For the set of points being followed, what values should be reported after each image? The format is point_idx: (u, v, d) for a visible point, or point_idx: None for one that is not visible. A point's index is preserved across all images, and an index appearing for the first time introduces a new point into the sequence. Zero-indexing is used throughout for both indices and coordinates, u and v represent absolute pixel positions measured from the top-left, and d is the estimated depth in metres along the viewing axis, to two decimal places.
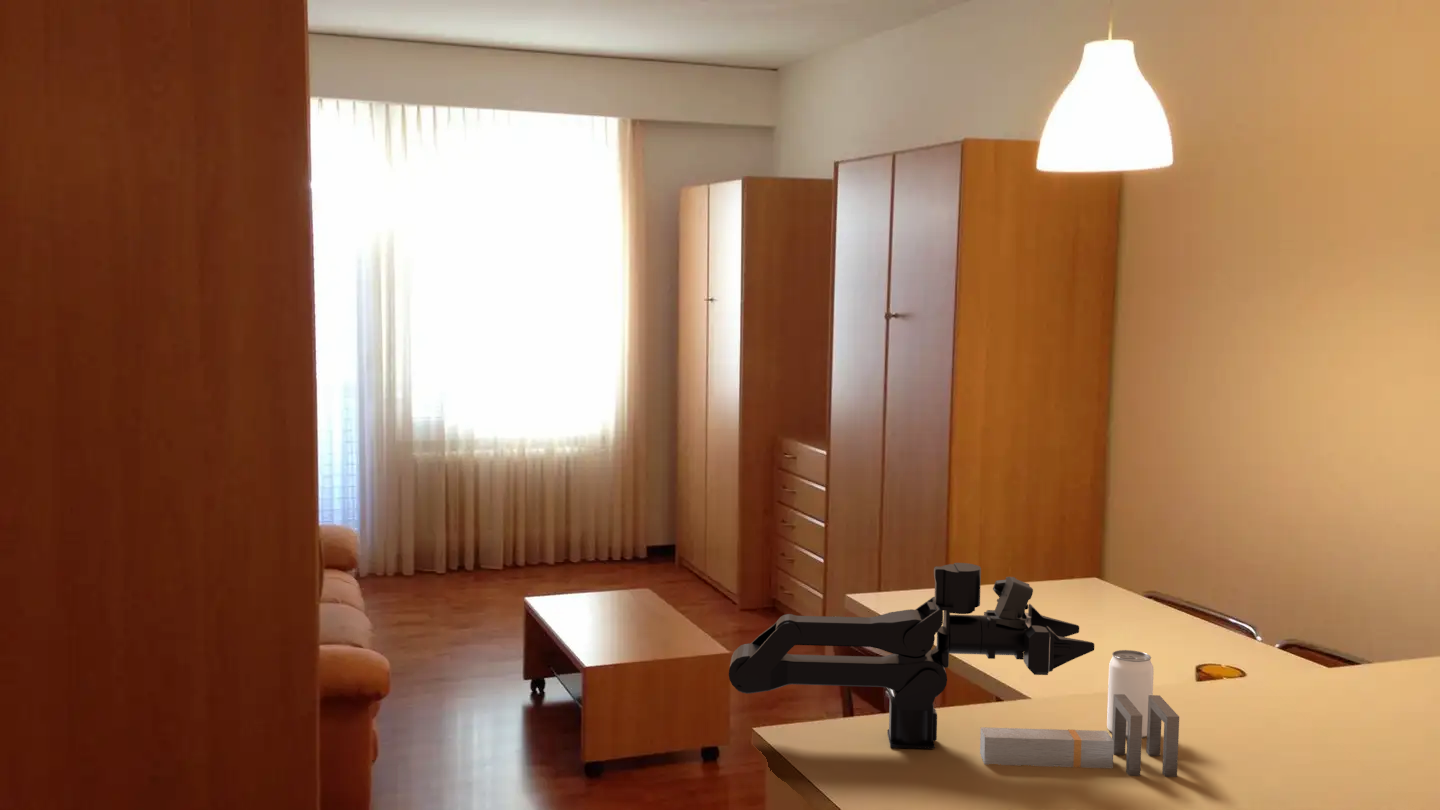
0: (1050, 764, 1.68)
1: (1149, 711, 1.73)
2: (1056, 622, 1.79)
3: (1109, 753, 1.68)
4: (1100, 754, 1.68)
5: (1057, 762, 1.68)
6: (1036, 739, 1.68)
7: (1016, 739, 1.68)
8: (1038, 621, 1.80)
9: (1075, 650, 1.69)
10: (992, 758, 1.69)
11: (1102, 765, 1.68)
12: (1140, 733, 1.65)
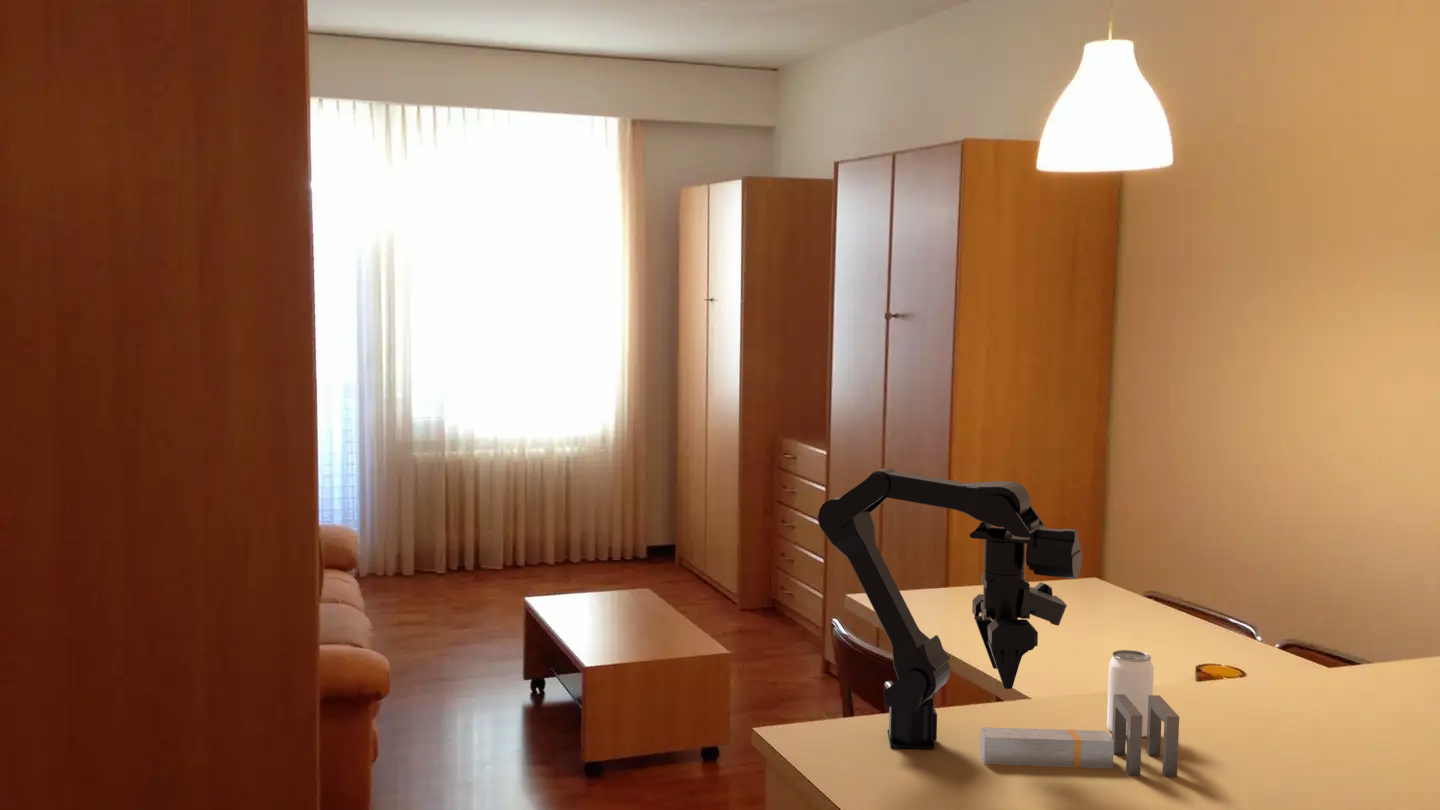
0: (1050, 764, 1.68)
1: (1149, 711, 1.73)
2: None
3: (1109, 753, 1.68)
4: (1100, 754, 1.68)
5: (1057, 762, 1.68)
6: (1036, 739, 1.68)
7: (1016, 739, 1.68)
8: None
9: (1007, 670, 1.64)
10: (992, 758, 1.69)
11: (1102, 765, 1.68)
12: (1140, 733, 1.65)
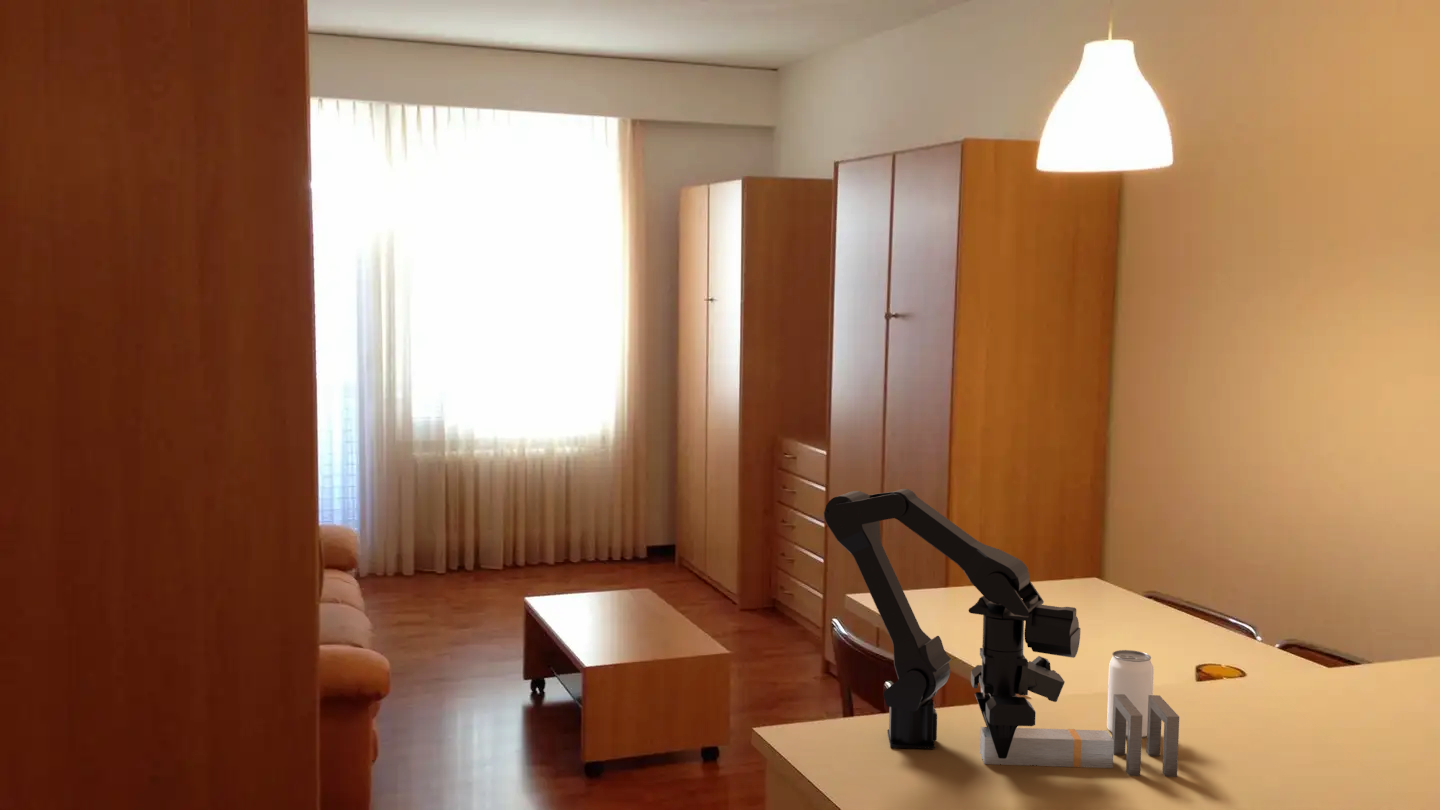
0: (1050, 764, 1.68)
1: (1149, 711, 1.73)
2: None
3: (1109, 753, 1.68)
4: (1100, 754, 1.68)
5: (1057, 761, 1.68)
6: (1036, 739, 1.68)
7: (1016, 738, 1.68)
8: None
9: (1001, 741, 1.67)
10: (992, 758, 1.69)
11: (1102, 764, 1.68)
12: (1140, 733, 1.65)
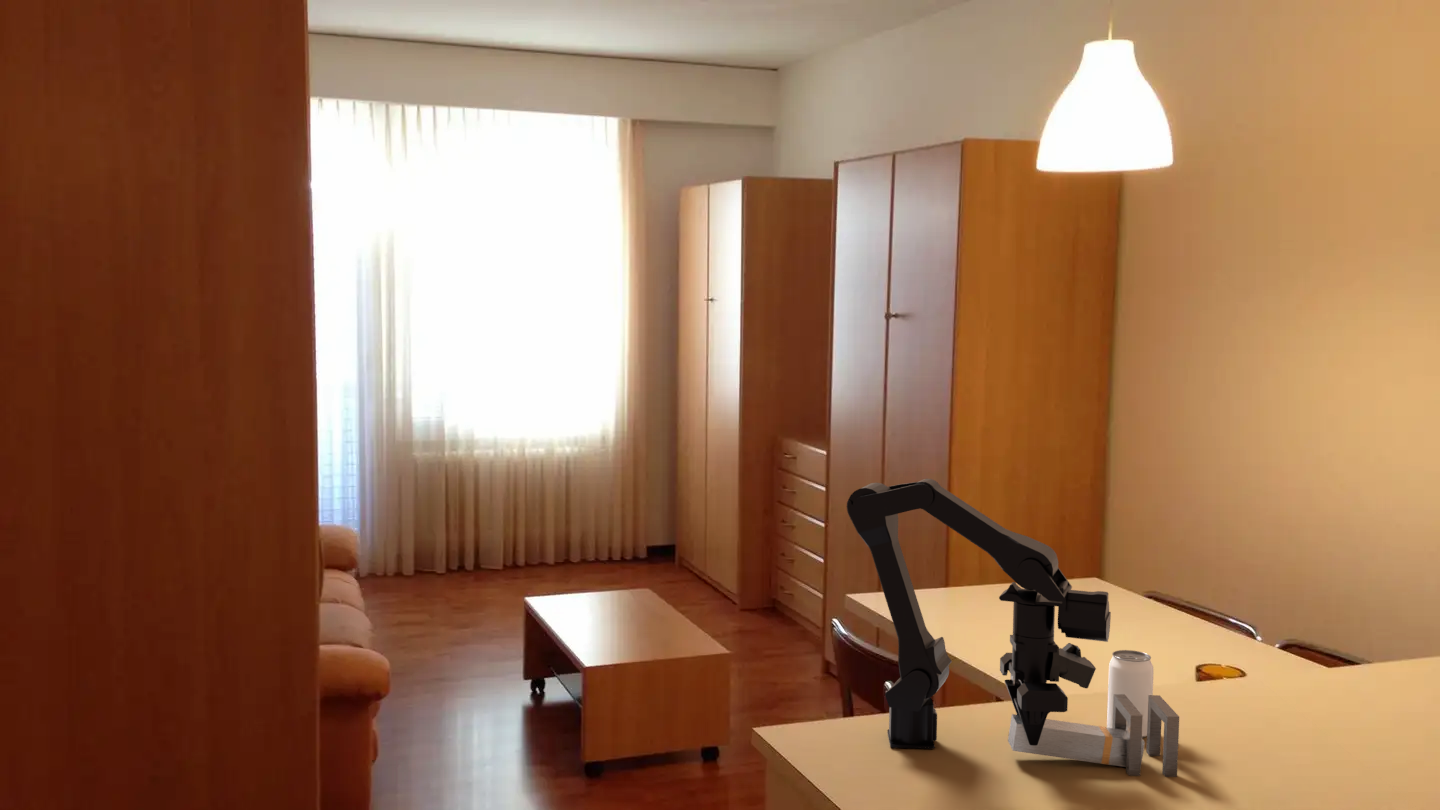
0: (1078, 758, 1.68)
1: (1149, 711, 1.73)
2: None
3: None
4: None
5: (1086, 756, 1.68)
6: (1068, 731, 1.68)
7: (1048, 729, 1.68)
8: None
9: (1032, 727, 1.67)
10: (1021, 745, 1.68)
11: None
12: (1140, 733, 1.65)
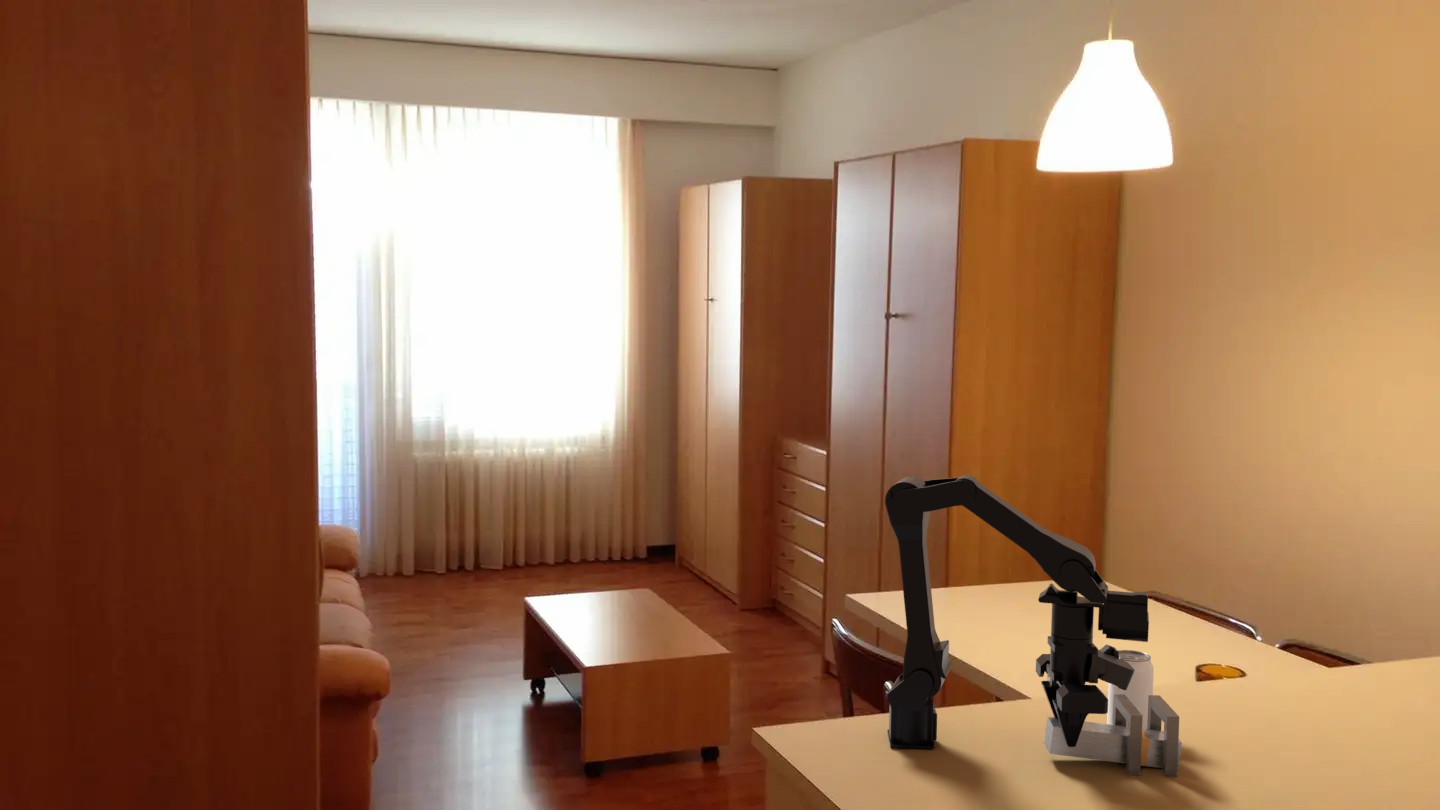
0: (1116, 760, 1.68)
1: (1149, 711, 1.73)
2: None
3: None
4: None
5: (1123, 758, 1.68)
6: (1105, 733, 1.67)
7: (1084, 731, 1.68)
8: None
9: (1071, 729, 1.66)
10: (1058, 748, 1.68)
11: None
12: (1140, 733, 1.65)
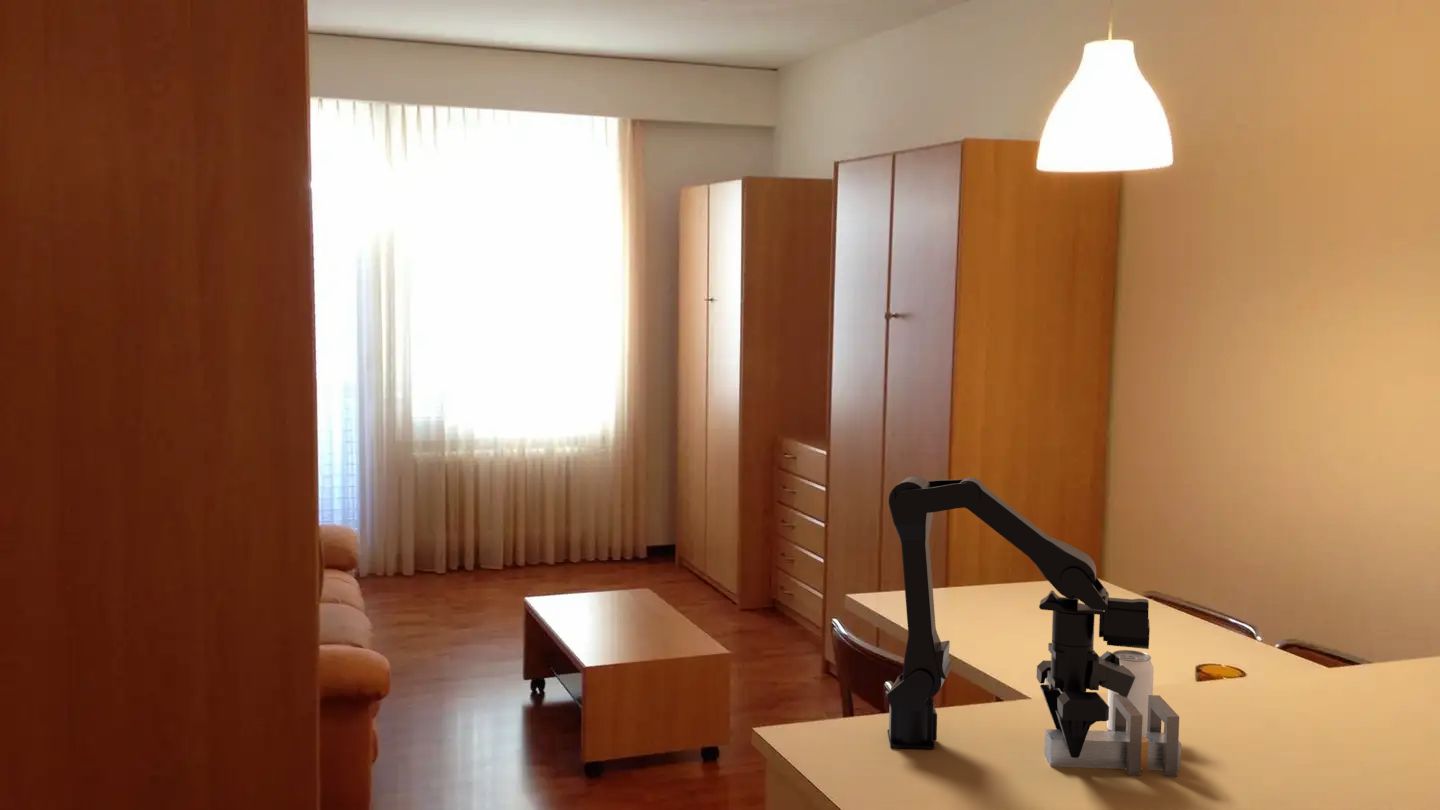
0: (1117, 766, 1.68)
1: (1149, 711, 1.73)
2: None
3: None
4: None
5: (1124, 764, 1.68)
6: (1103, 741, 1.68)
7: None
8: None
9: (1074, 740, 1.65)
10: (1058, 760, 1.68)
11: None
12: (1140, 733, 1.65)
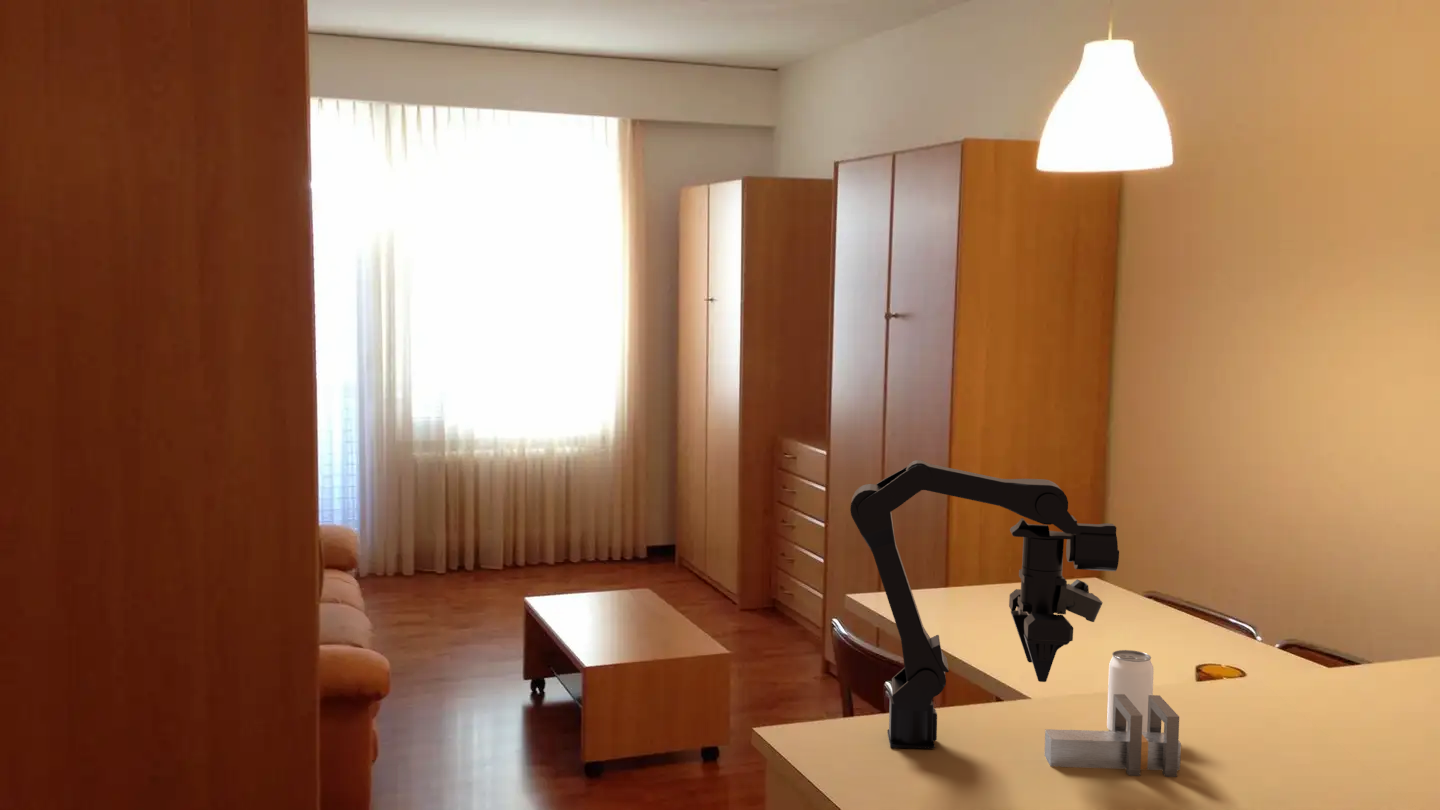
0: (1117, 766, 1.68)
1: (1149, 711, 1.73)
2: None
3: None
4: None
5: (1124, 764, 1.68)
6: (1103, 741, 1.68)
7: (1082, 741, 1.68)
8: None
9: (1041, 664, 1.68)
10: (1058, 760, 1.68)
11: None
12: (1140, 733, 1.65)
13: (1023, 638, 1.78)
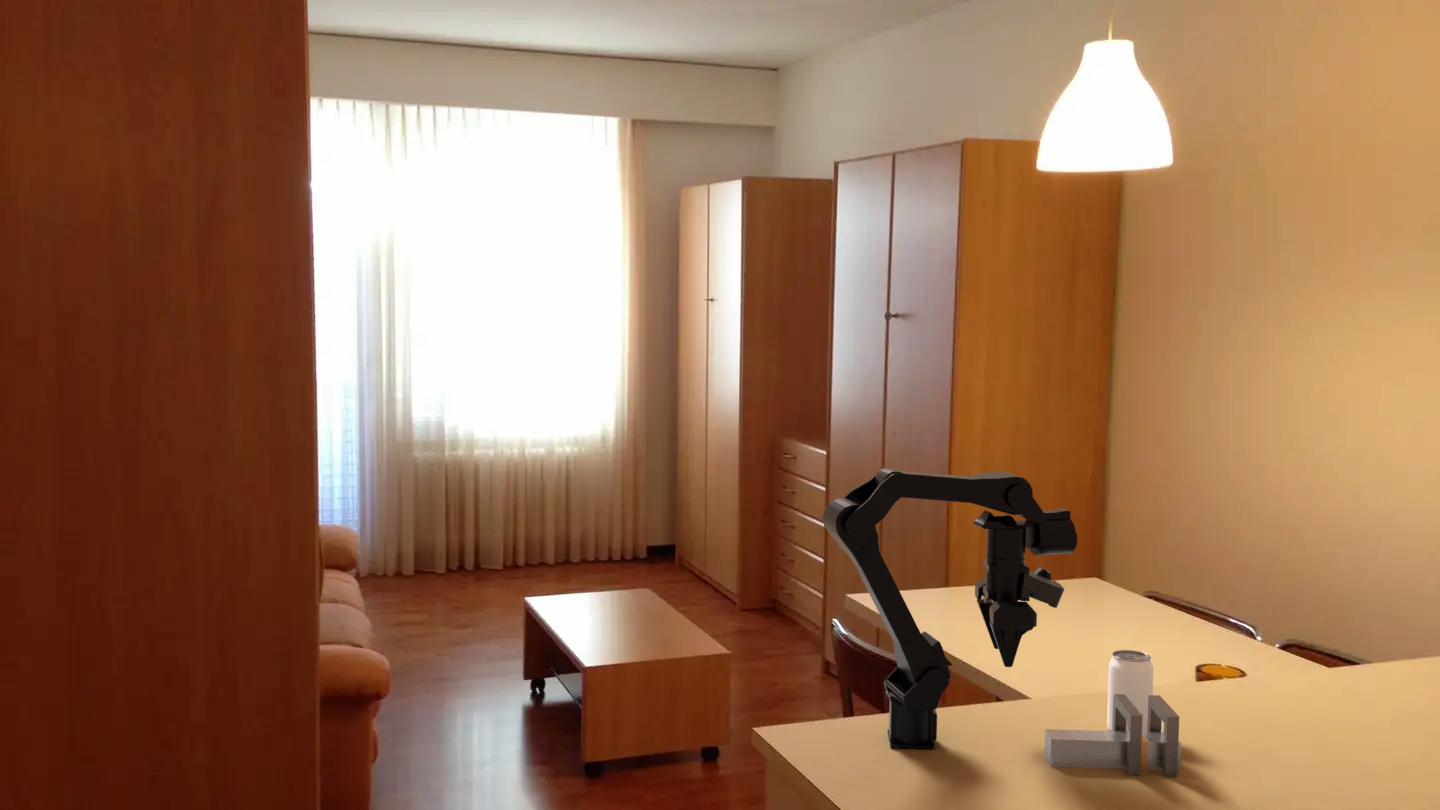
0: (1116, 766, 1.68)
1: (1149, 711, 1.73)
2: None
3: None
4: None
5: (1124, 764, 1.68)
6: (1103, 741, 1.68)
7: (1082, 741, 1.68)
8: None
9: (1007, 649, 1.74)
10: (1058, 760, 1.68)
11: None
12: (1140, 733, 1.65)
13: (989, 625, 1.84)
